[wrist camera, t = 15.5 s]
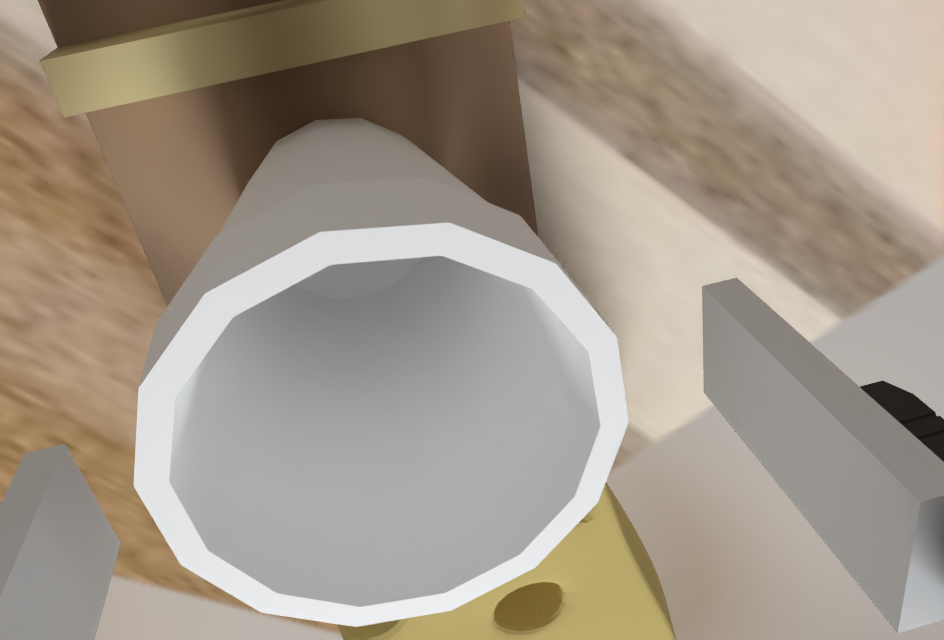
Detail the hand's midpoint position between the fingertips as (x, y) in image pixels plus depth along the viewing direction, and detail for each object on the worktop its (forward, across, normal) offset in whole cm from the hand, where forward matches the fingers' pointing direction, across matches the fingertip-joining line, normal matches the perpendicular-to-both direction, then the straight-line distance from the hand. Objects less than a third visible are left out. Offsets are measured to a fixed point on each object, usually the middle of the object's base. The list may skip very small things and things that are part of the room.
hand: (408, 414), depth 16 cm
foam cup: (+12, +1, 0) cm, 12 cm away
